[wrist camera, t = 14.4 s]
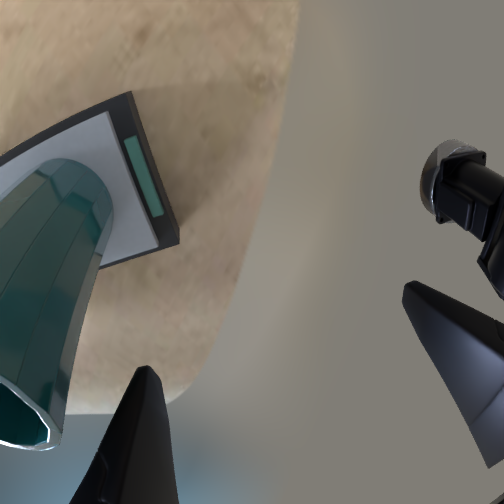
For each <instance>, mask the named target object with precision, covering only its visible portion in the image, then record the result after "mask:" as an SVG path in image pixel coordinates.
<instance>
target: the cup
mask: <svg viewBox="0 0 504 504" xmlns="http://www.w3.org/2000/svg"><path fill="white" fill-rule="evenodd" d="M113 221H114V208H113V203H112V199H111V196H110V193H109V191H108V189H107V187H106V186H105V184H104V182H103V181H102V180H101V179H100V177H99V176H98V175H97V174H96V173H95V172H94V171H93V170H91V169H90V168H89V167H87V166H86V165H84V164H82V163H80V162H77V161H75V160H71V159H65V158H56V159H50V160H46V161H44V162H42V163H40V164H38V165H37V166H35V167H34V168H32V169H30V170H29V171H27V172H26V173H25V174H24V175H23V176H21V177H20V178H19V179H18V180H17V181H16V182H14V183H13V184H12V185H11V186H10V187H9V188H7V189H6V190H5V191H4V192H3V193H2V194H1V195H0V443H1V444H5V445H9V446H12V447H15V448H19V449H26V450H42V451H43V450H47V449H50V448H53V447H56V446H58V445H60V441H61V436H62V431H63V424H64V416H65V409H66V403H67V396H68V391H69V385H70V379H71V374H72V369H73V364H74V359H75V355H76V350H77V346H78V341H79V337H80V333H81V329H82V325H83V321H84V317H85V313H86V310H87V306H88V302H89V299H90V295H91V292H92V289H93V285H94V282H95V279H96V275H97V272H98V269H99V266H100V263H101V260H102V257H103V254H104V251H105V248H106V245H107V242H108V240H109V237H110V234H111V231H112V227H113Z"/></svg>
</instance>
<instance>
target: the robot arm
mask: <svg viewBox="0 0 504 504" xmlns="http://www.w3.org/2000/svg"><path fill="white" fill-rule="evenodd" d="M445 163H446V164H445ZM485 165H486V153H485V152H484V151H476V152H471V153H466V154H461V155H456V156H451V157H446V158H443V159H442V160H441V162H440V174H439V189H438V201H437V211H436V221H437V223H439V224H443V223H446V222H449V221H451V220H453V221H454V222H455V223H457V224H458V225H459V226H461V227H462V228H463V229H464V230H466V231H469V232H470V233H472V234H473V235H474V236H475V237H477V238H478V239H479V240H480V241H481V242H484V241H486V242H485V244H484V247H483V249H482V252H481V255H480V256H479V257H478V259H477V263H478V264H479V266H480V267H481V269H482V270H483V272H484V273H485V275H486V276H487V278H488V280H489V281H490V283H491V285H492V286H493V288H494V289H495V291H496V293H497V294H498V296H499V297H500V298H501V299H503V300H504V177H502V176H501V175H499V174H497V173H496V172H494V171H492V170H490V169H489V168H487V167H485ZM402 304H403V307H404V309H405V311H406V313H407V315H408V317H409V319H410V321H411V323H412V325H413V327H414V329H415V331H416V334H417V336H418V337H419V340H420V341H421V343H422V345H423V346H424V348H425V350H426V351H427V353H428V355H429V356H430V358H431V360H432V362H433V363H434V365H435V367H436V368H437V370H438V372H439V373H440V375H441V377H442V379H443V380H444V382H445V384H446V386H447V388H448V389H449V391H450V393H451V395H452V397H453V399H454V400H455V402H456V404H457V406H458V408H459V410H460V412H461V414H462V416H463V417H464V419H465V421H466V423H467V425H468V426H469V430H470V431H471V434H472V436H473V438H474V440H475V442H476V444H477V446H478V448H479V450H480V452H481V454H482V456H483V459H484V461H485V463H486V465H487V467H488V468H491V467H492V466H494V465H495V464H497V463H498V462H500V461H501V460H503V459H504V324H503V323H501V322H499V321H497V320H494V319H493V318H491V317H489V316H487V315H485V314H483V313H482V312H479V311H477V310H475V309H474V308H472V307H470V306H467V305H466V304H464V303H461V302H459V301H457V300H455V299H453V298H451V297H449V296H447V295H445V294H443V293H441V292H439V291H437V290H435V289H433V288H431V287H429V286H426V285H424V284H422V283H420V282H418V281H411V282H409V283H407V284H405V286H404V291H403V297H402ZM69 504H179V501H178V494H177V487H176V480H175V473H174V464H173V455H172V446H171V437H170V427H169V419H168V414H167V409H166V404H165V399H164V394H163V388H162V383H161V380H160V378H159V377H158V375H157V374H156V373H155V372H154V370H153V369H152V368H151V367H150V366H149V365H146V366H141V367H138V368H137V369H136V371H135V373H134V375H133V377H132V379H131V381H130V383H129V385H128V387H127V389H126V391H125V393H124V395H123V397H122V399H121V401H120V403H119V406H118V408H117V410H116V412H115V414H114V416H113V418H112V420H111V422H110V424H109V426H108V428H107V431H106V433H105V435H104V437H103V439H102V441H101V443H100V446H99V448H98V452H96V454H95V456H94V459H93V461H92V463H91V465H90V467H89V469H88V471H87V473H86V475H85V477H84V479H83V480H82V482H81V484H80V486H79V487H78V489H77V491H76V492H75V494H74V496H73V498H72V499H71V501H70V503H69ZM490 504H504V493H503V494H502V495H500V496H499V497H498V498H497V499H495V500H494V501H493V502H491V503H490Z"/></svg>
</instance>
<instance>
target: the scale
mask: <svg viewBox="0 0 504 504" xmlns="http://www.w3.org/2000/svg"><path fill="white" fill-rule="evenodd" d="M56 158H65V159H71V160H75V161H77V162H80V163H82V164H84V165H86V166H87V167H89V168H90V169H91V170H93V171H94V172H95V173H96V174H97V175H98V176H99V177H100V179H101V180H102V181H103V182H104V184H105V186H106V187H107V189H108V191H109V193H110V196H111V199H112V203H113V208H114V221H113V227H112V231H111V234H110V237H109V240H108V242H107V245H106V248H105V251H104V254H103V257H102V260H101V263H100V266H99V269H98V270H100V269H103V268H106V267H109V266H112V265H115V264H118V263H122V262H125V261H128V260H131V259H134V258H137V257H140V256H143V255H146V254H149V253H153V252H156V251H159V250H162V249H165V248H168V247H172V246H175V245H178V244H180V237H179V227H178V224H177V221H176V219H175V216H174V213H173V211H172V208H171V206H170V203H169V200H168V197H167V195H166V192H165V189H164V187H163V184H162V181H161V178H160V175H159V173H158V170H157V167H156V164H155V161H154V158H153V156H152V153H151V150H150V147H149V144H148V141H147V138H146V135H145V132H144V129H143V126H142V123H141V120H140V117H139V114H138V111H137V107H136V104H135V101H134V98H133V95H132V91H129V92H126V93H123V94H121V95H118V96H116V97H113V98H111V99H109V100H106V101H104V102H102V103H99V104H97V105H95V106H92V107H90V108H88V109H86V110H84V111H81V112H79V113H77V114H75V115H73V116H71V117H69V118H67V119H65V120H63V121H61V122H59V123H57V124H55V125H53V126H51V127H49V128H48V129H46V130H44V131H42V132H40V133H38V134H37V135H35V136H33V137H31V138H30V139H28V140H26V141H25V142H23V143H21V144H20V145H18V146H16V147H15V148H13V149H11V150H10V151H8V152H7V153H5V154H4V155H2V156H0V195H1V194H2V193H3V192H4V191H5V190H6V189H7V188H9V187H10V186H11V185H12V184H13V183H14V182H16V181H17V180H18V179H19V178H20V177H21V176H23V175H24V174H25V173H26V172H27V171H29V170H30V169H32V168H34V167H35V166H37V165H38V164H40V163H42V162H44V161H46V160H50V159H56Z"/></svg>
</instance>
